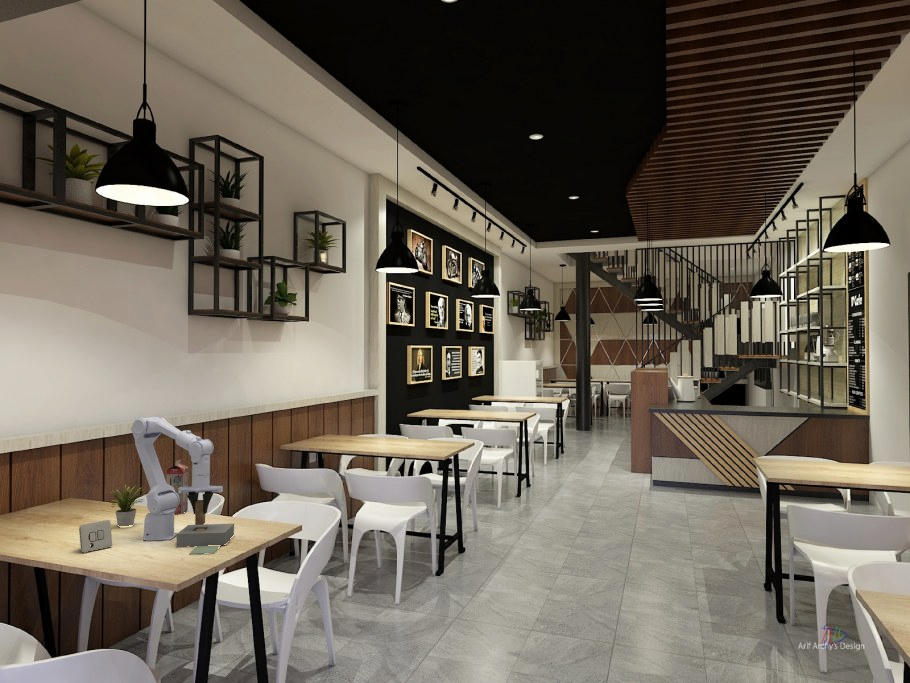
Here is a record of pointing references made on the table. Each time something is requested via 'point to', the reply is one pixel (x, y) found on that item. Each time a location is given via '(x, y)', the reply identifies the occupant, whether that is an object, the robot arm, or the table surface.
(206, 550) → the mat
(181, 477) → the juice carton
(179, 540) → the panel
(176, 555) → the table surface
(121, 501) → the house plant
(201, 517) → the wooden peg
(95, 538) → the electrical switch
